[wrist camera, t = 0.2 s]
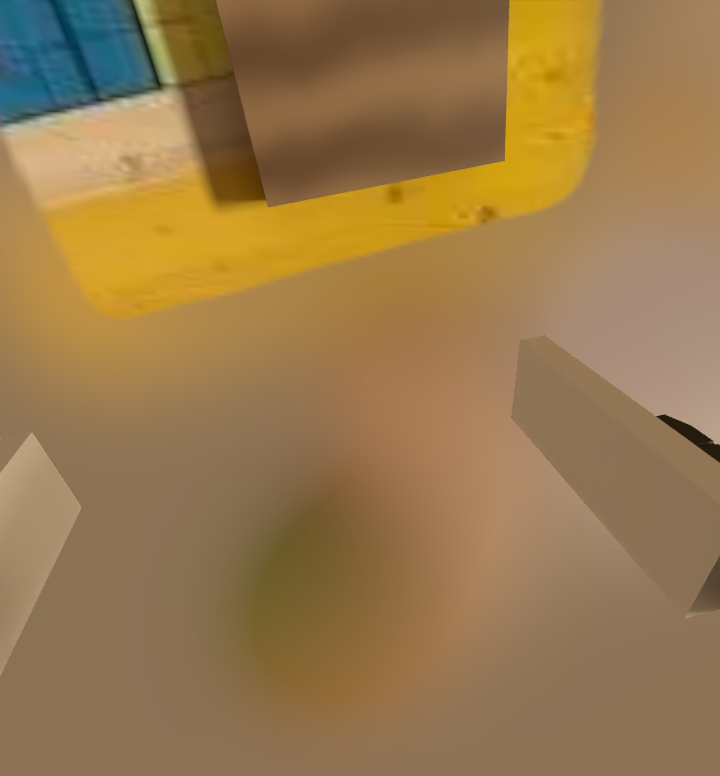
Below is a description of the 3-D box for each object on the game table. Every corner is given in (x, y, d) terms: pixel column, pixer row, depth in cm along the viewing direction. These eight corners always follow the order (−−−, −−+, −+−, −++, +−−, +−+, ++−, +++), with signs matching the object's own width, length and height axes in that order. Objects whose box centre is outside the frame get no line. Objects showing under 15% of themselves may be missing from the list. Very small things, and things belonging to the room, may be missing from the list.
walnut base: (182, -139, 24) (169, -184, 21) (482, -178, 25) (515, -225, 22) (267, 199, 34) (267, 207, 30) (481, 157, 35) (504, 160, 32)
